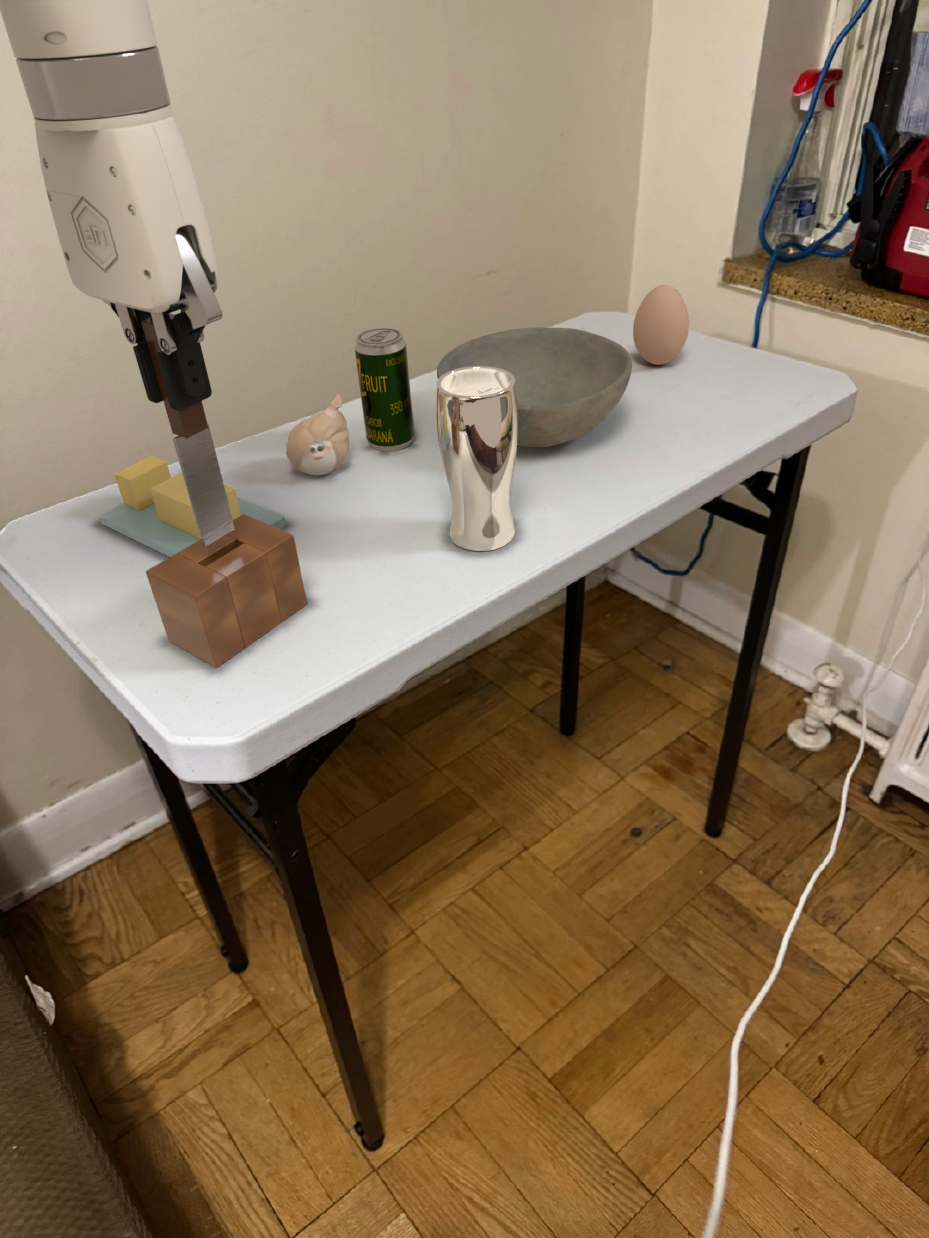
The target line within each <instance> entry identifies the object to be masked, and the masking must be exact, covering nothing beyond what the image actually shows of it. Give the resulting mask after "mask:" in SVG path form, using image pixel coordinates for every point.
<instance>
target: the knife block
mask: <svg viewBox="0 0 929 1238" xmlns="http://www.w3.org/2000/svg"><path fill="white" fill-rule="evenodd" d="M233 523H234V527H235V530H233V531H231V532H230V533H228V534H226V535H225V536H223V537H221V538H220V539H218V540H216V541H214V542H213V543H211V544H209V545H208V546H206V547H205V546H203V544H202V540H201V539H200V540H198V541H197V542H195V543H193V544H191V545H190V546H188V547H186V548H185V549H183V550H181V551H179V552H178V553H177V554H174V555H173V556H171V557H169V556H168V558H166V559H164V560H163V561H160V562H159V563H157V564H156V565H154V566H152V567H150V568H149V569H147V570H145V575H146V577H147V580H148V583H149V586H150V589H151V593H152V595H153V598H154V601H155V604H156V607H157V611H158V614H159V616H160V619H161V622H162V625H163V628H164V632H165V634H166V637H167V640H168V642H170V643H171V644H173V645H174V646H176V647H178V648H180V649H182V650H183V651H186V652H187V653H189V654H191V656H192V655H193V656H194V657H196V658H197V659H200V660H202V661H203V662H204V663H207V664H208V665H210V666H212V667H214V668H216V669H217V668H219V667H220V666H222V665H223V664H224V663H226V662H227V661H229V660H230V659H232V658H233V657H234V656H236V655H237V654H239V653H240V652H242V651H243V650H244V649H245V648H247V647H249V646H251V644H253V643H254V642H256V641H257V640H259V639H260V638H261V637H263V636H264V635H266V634H267V633H269V632H270V631H271V630H273V629H274V628H276V627H277V626H278V625H280V624H282V622H284V621H287V619H288V618H290V617H291V616H293V615H295V613H297V612H298V611H300V610H301V609H303V608H304V607H306V606H307V605H308V600H307V594H306V590H305V585H304V580H303V575H302V570H301V566H300V561H299V555H298V550H297V545H296V540H295V536H294V534H293V533H291V532H288V531H286V530H283V529H282V528H281V529H278V528H276V527H274V526H271V525H269V524H266V523H264V522H262V521H259V520H257V519H254V518H252V517H250V516H247V515H245V514H243V515H241V516H239V517H238V518H236V519H234V520H233Z"/></svg>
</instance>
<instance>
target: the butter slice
mask: <svg viewBox="0 0 929 1238" xmlns="http://www.w3.org/2000/svg"><path fill="white" fill-rule="evenodd" d="M113 475H114V479H115V481H116V484H117V487H118V490H119V493H120V496H121V499H122V503H124V504H125V505H127V506H129V507H132V508H134V509H136V510H138V511H140V510H142V509H144V508H145V507H147V506H149V505H151V504H153V503H154V501H153V498H152V495H151V492H150V488H152V487H154V486H156V485H158V484H160V483H162V482H164V481H166V480H168V479H170V478H172V476H171V472H170V468H169V465H168V462H167V461H166V460H163V459H162V458H159V457H157V456H154V455H149V456H147V457H145V458H143V459H141V460H139V461H137V462H135V463H133V464H131V465H128V466H126V467H125V468H122V469H120V470H118V471H116V472H114V473H113Z"/></svg>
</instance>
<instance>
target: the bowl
mask: <svg viewBox="0 0 929 1238" xmlns="http://www.w3.org/2000/svg"><path fill="white" fill-rule="evenodd" d="M470 366H489V367H496V368H500V369H503V370H506V371H508V372H510V373H511V374H512V375H513V376H514V378H515V389H516V399H517V410H518V445H517V446H520V447H526V448H547V447H548V448H549V447H553V446H557V445H560V444H561V445H562V444H563V443H566V442H570V441H572V440H575V439H577V438H579V437H582V436H585V434H587V433H588V432H590V431H591V430H593V429H595V428H596V427H597V426H599V424H601V422H603V421H604V420H605V419H606V418H607V416H608V415H609V414H610V413H611V412H612V411H613V410H614V409H615V407H616V406H617V405H618V403H619V402H620V401H621V399H622V398H623V395H624V394H625V392H626V390H627V387H628V385H629V383H630V379H631V375H632V371H633V360H632V357H631V355H630V353H629V352H628V351H627V349H626V348H625V347H624V346H623V345H621V344H619V342H617V341H614V340H613V339H610V338H607V337H605V336H602V335H600V334H596V333H592V332H589V331H586V330H582V329H577V328H571V327H523V328H522V327H521V328H514V329H507V330H503V331H498V332H494V333H489V334H486V335H482V336H479V337H476V338H473V339H471V340H468V341H466V342H464V343H462V344H460V345H457V346H456V347H454V348H452V349H451V350H450V351H448V352H447V353H446V354H445V355H444V356H443V357H442V358H441V360H440V361H439V363H438V365H437V367H436V377H437V380H438V379H439V378H440V377H441V376H442V375H443V374H445V373H447V372H449V371H452V370H455V369H458V368H463V367H470Z"/></svg>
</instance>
